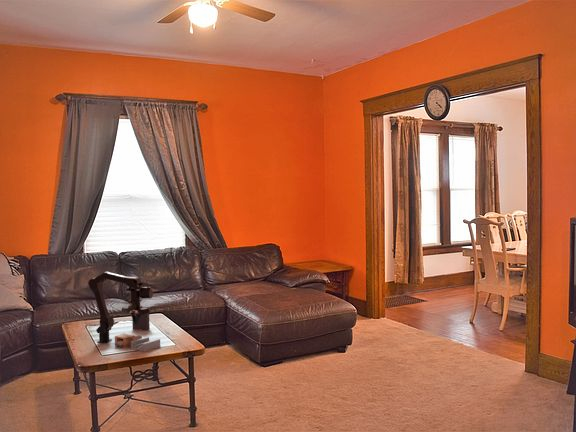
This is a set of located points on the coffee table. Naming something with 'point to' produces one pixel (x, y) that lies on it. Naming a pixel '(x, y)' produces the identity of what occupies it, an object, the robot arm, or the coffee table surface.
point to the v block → (145, 344)
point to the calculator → (142, 322)
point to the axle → (120, 343)
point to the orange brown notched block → (125, 339)
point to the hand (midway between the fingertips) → (136, 324)
